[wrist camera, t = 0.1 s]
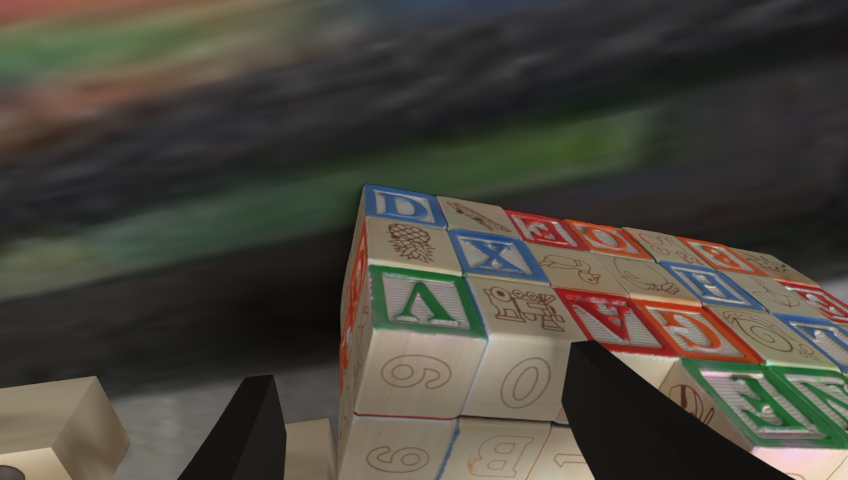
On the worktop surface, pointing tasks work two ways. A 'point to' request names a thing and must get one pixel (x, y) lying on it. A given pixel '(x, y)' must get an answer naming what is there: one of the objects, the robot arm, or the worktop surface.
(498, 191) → the worktop surface
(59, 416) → the two-dot maple block
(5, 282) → the worktop surface
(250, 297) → the worktop surface
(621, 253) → the stack of blocks
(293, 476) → the plain maple block
